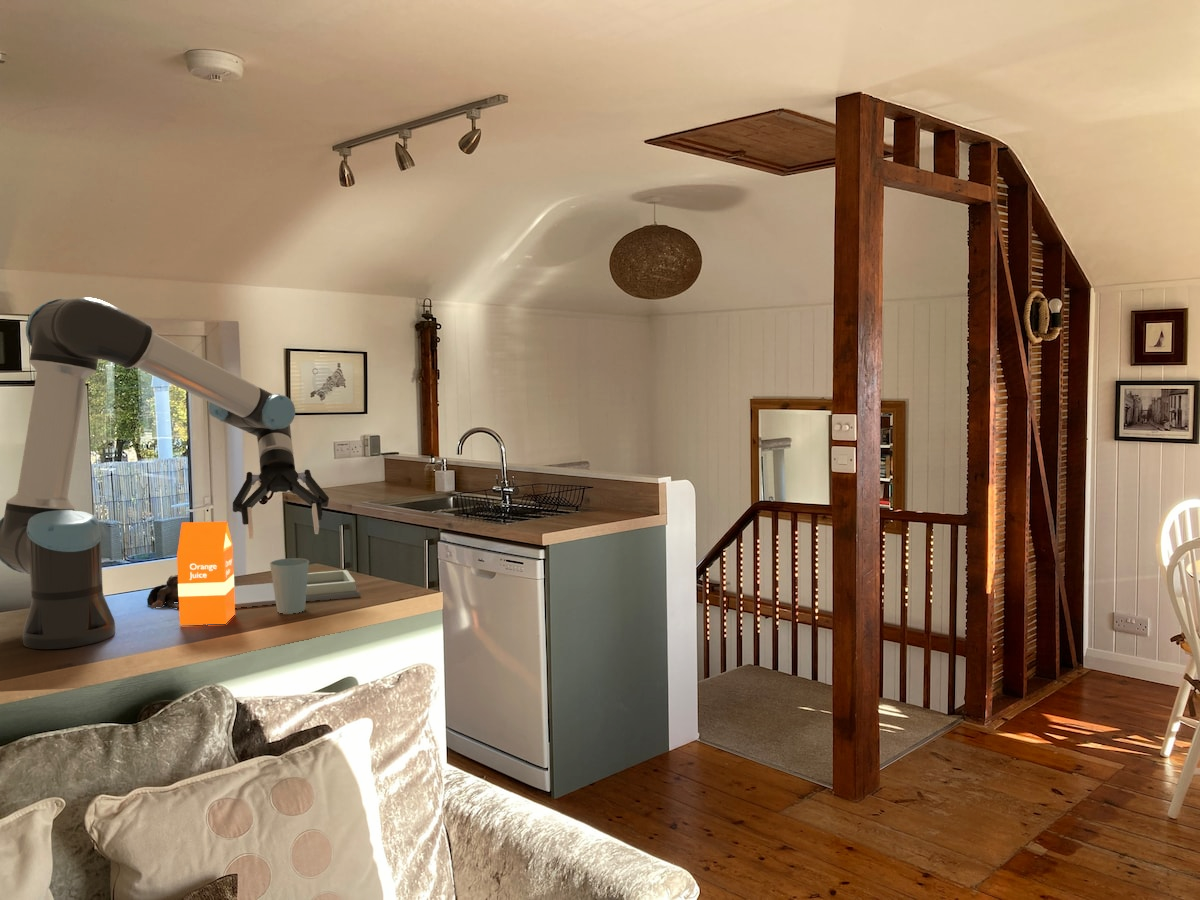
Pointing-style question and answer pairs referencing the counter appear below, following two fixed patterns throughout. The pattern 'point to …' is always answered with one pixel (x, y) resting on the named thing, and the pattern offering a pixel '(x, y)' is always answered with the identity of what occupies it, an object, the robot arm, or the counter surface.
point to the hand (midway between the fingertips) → (284, 533)
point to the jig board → (317, 589)
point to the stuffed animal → (165, 594)
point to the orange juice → (205, 573)
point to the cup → (290, 584)
